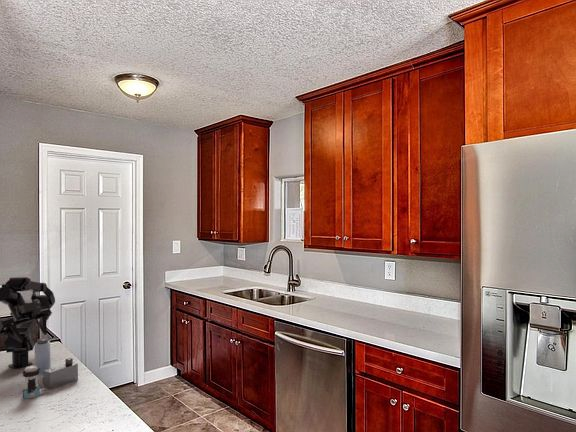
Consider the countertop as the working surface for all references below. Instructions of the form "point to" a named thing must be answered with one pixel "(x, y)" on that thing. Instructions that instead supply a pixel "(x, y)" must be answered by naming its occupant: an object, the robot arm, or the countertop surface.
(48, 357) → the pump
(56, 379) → the motor block
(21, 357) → the robot arm
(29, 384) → the push button
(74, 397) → the countertop surface
